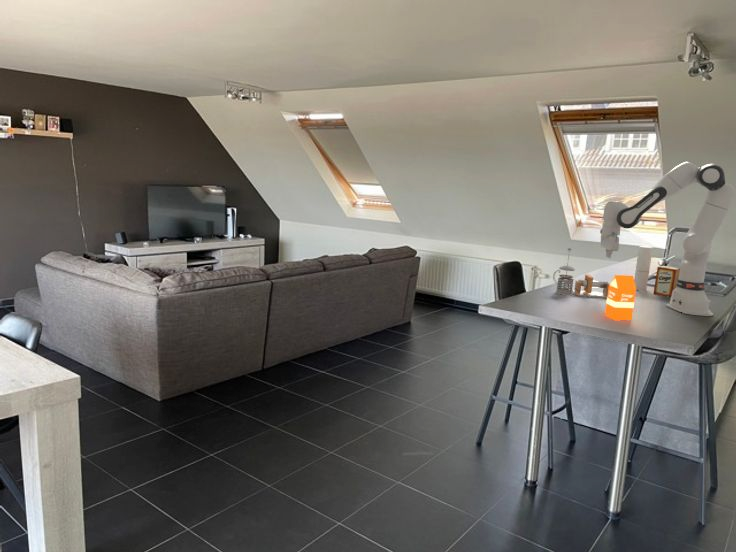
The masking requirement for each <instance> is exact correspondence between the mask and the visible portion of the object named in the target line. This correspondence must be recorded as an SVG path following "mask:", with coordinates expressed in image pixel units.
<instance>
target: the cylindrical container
mask: <svg viewBox="0 0 736 552" xmlns="http://www.w3.org/2000/svg"><path fill="white" fill-rule="evenodd" d="M653 250H654V248H653V246H649V245H648V246H647V245H639V246H638V250H637V251H638V252H637V259H636V264H635V266H636V267H635V274H634V282H635V287H636V290H637V289H638V291H647V288H648V284H649V283H648V282H649V275H650V269H651V262H652V255H653Z"/></svg>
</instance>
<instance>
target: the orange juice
mask: <svg viewBox="0 0 736 552" xmlns="http://www.w3.org/2000/svg"><path fill="white" fill-rule="evenodd" d="M634 278H635V276H634V275H622V274H621V275H620V274H615V275H614V277H613V278H612V280H611V282H610V283H609V284H610V285H609V289H608V296H607V298H606V301H605V304H606V305H605V311H604V317H606V316H607V318H608V317H609V318H608V319H610V318H611V319H613V320H612V321H620V320H632V319H633V314H634V306H635V300H636V299H635V298H636V293H637V289H636V287H635V282H634ZM611 319H610V320H611Z"/></svg>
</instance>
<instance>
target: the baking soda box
mask: <svg viewBox="0 0 736 552" xmlns="http://www.w3.org/2000/svg"><path fill="white" fill-rule="evenodd" d="M679 272H680V268H677V267H674V266H671V265H670V266H668V265H666V266H665V265H659V266H657V269H656V274H655V275H656V276H655V282H654V287H653V295H656V294H657V296H661V295H662V297H667V296H669V297H668V298H671V295H672V291H673V290H674V289H675V288H676V287H677V286H676V284H677V279H678V278H679Z"/></svg>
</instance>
